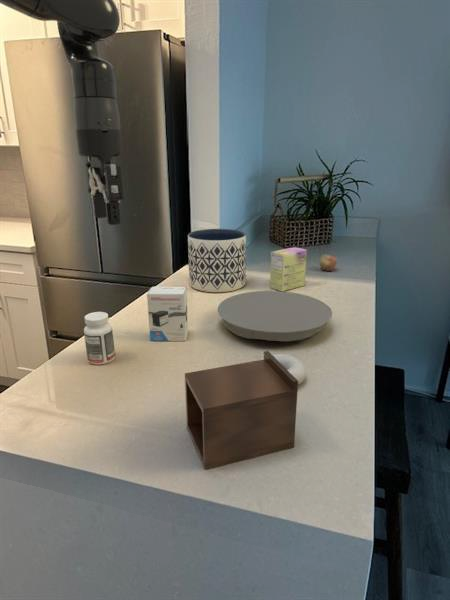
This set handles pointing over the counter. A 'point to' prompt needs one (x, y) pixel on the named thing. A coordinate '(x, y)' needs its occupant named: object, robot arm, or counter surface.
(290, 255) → the box
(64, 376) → the counter surface
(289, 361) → the donut
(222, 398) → the open wooden cube
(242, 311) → the flat disc
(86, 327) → the pill bottle
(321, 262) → the apple
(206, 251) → the planter
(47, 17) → the robot arm
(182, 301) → the ink box
